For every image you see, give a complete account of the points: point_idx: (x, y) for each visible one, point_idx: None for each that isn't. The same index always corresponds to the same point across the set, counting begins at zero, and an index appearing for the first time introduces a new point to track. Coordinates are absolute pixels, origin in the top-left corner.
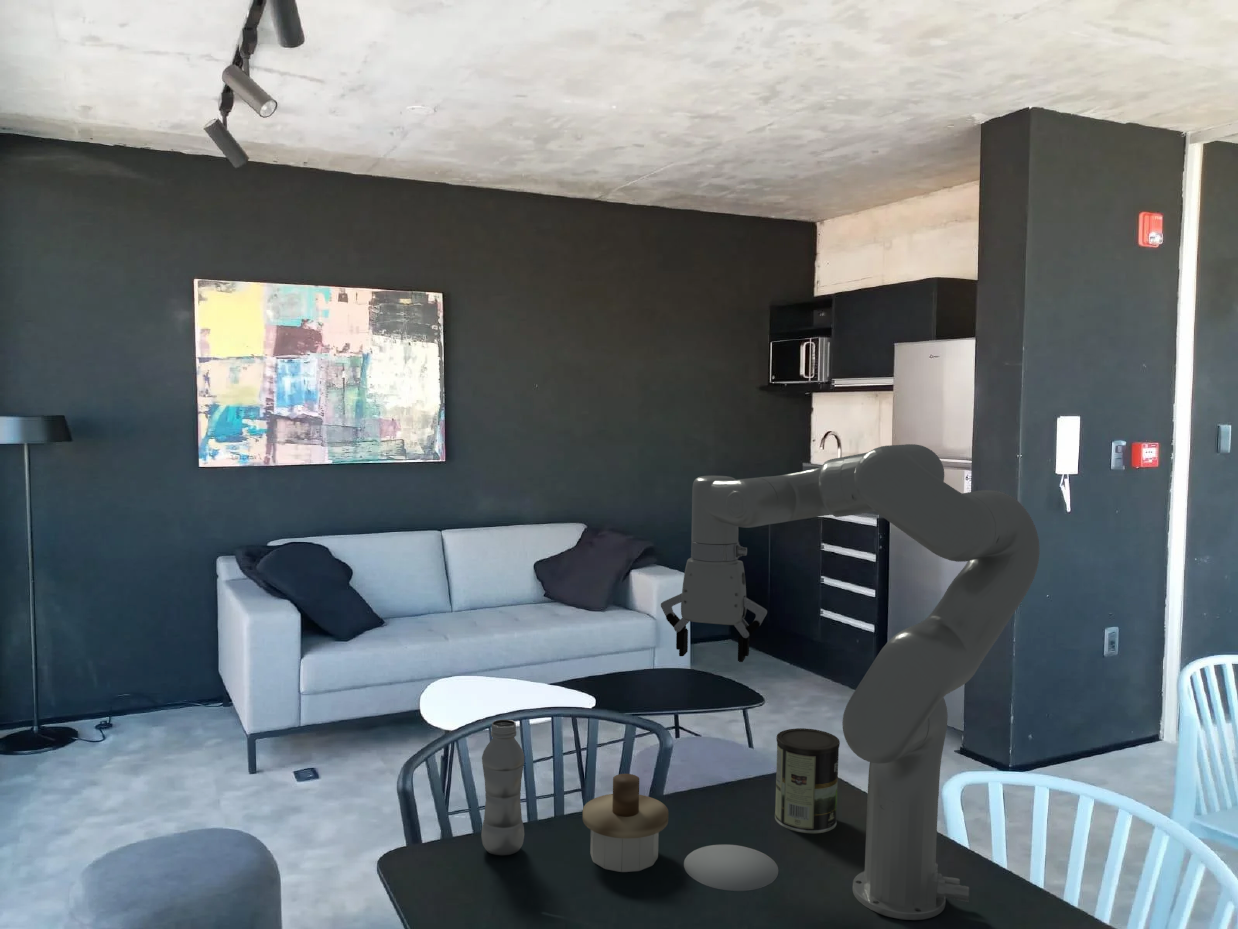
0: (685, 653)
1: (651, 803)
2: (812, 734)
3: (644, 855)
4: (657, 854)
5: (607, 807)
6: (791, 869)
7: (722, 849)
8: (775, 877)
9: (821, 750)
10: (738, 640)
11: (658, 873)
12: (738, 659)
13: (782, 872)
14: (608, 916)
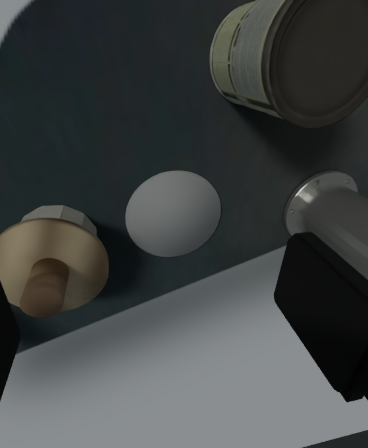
0: (8, 306)
1: (72, 240)
2: (347, 11)
3: None
4: (96, 233)
5: (22, 273)
6: (232, 194)
7: (159, 187)
8: (218, 220)
9: (342, 118)
10: (331, 385)
11: (108, 251)
12: (279, 305)
13: (223, 203)
14: (96, 318)
